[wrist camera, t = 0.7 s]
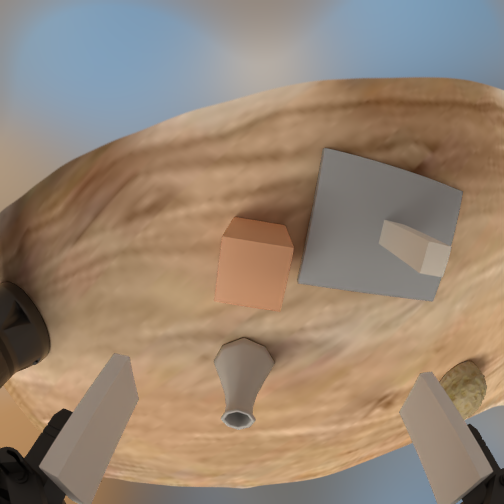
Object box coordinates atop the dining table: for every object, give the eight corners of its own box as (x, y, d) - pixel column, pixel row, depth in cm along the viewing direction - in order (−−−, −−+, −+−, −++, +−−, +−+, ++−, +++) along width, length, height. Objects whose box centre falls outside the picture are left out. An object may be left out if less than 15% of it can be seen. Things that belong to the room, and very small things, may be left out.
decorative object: (434, 358, 37) (427, 410, 30) (487, 348, 30) (487, 402, 23) (440, 382, 40) (433, 428, 33) (486, 374, 33) (483, 422, 26)
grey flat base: (297, 279, 30) (311, 329, 20) (322, 148, 26) (353, 137, 16) (429, 298, 30) (471, 337, 20) (458, 190, 26) (514, 203, 16)
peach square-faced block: (227, 265, 30) (214, 301, 21) (234, 216, 28) (222, 236, 20) (275, 272, 30) (280, 311, 21) (285, 225, 28) (294, 247, 20)
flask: (243, 327, 32) (236, 385, 22) (284, 361, 33) (290, 421, 24) (204, 358, 33) (187, 415, 24) (244, 388, 35) (239, 446, 25)
